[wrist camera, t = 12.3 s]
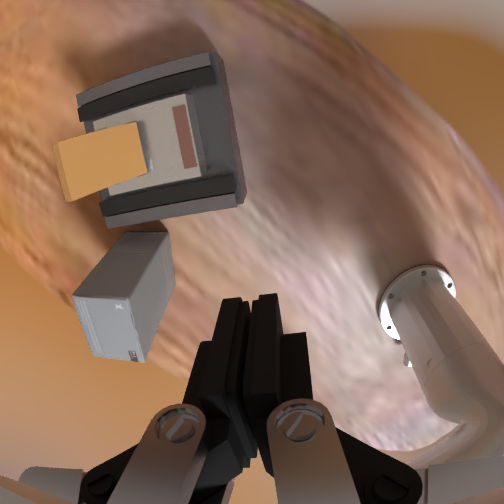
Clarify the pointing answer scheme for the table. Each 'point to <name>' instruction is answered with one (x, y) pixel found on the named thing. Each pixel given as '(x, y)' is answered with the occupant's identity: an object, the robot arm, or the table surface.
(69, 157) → the breaker lever
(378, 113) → the table surface
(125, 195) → the breaker box
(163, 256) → the skincare box
